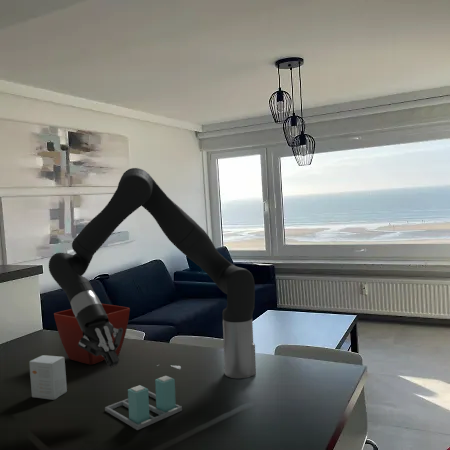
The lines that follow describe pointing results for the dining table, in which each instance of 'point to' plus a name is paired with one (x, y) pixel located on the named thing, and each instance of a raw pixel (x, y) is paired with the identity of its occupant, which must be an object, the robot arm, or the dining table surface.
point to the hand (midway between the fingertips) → (114, 365)
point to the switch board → (152, 419)
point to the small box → (48, 377)
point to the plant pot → (73, 333)
